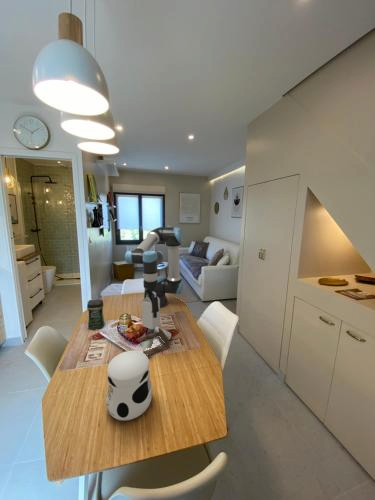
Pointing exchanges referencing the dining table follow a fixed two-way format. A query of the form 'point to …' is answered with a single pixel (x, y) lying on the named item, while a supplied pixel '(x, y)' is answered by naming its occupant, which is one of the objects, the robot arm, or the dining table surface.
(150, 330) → the winch drum
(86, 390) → the dining table surface
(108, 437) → the dining table surface
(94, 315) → the coffee jar
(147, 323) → the milk carton
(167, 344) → the bay
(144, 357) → the milk container
